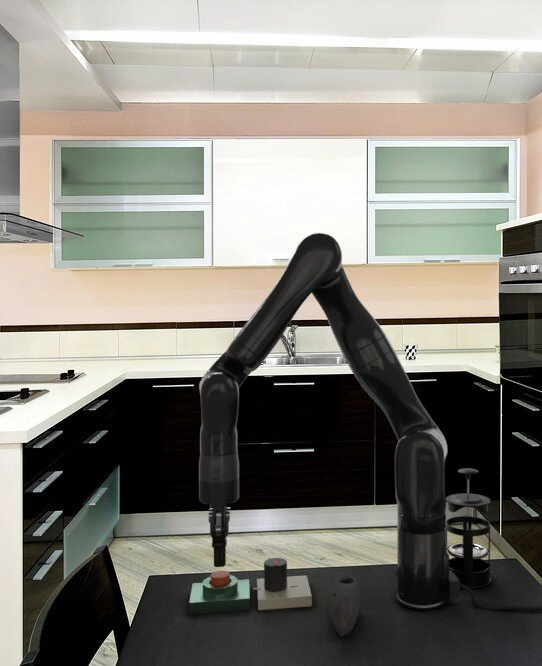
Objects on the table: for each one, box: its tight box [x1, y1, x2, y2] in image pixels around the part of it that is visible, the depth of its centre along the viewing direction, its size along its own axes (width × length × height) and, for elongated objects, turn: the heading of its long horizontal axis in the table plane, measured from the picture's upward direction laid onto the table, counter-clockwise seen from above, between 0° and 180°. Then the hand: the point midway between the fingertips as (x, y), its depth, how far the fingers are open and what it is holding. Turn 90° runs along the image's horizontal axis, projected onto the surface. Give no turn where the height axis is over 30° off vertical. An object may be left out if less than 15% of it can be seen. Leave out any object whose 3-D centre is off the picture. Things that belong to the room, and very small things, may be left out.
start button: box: [210, 570, 231, 586], centre depth 129 cm, size 4×4×2 cm
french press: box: [445, 467, 492, 591], centre depth 139 cm, size 12×9×23 cm
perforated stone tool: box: [330, 570, 361, 637], centre depth 120 cm, size 15×5×7 cm, turn 175°
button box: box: [188, 574, 251, 615], centre depth 129 cm, size 11×9×4 cm
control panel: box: [252, 574, 313, 611], centre depth 131 cm, size 11×10×2 cm
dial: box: [263, 557, 288, 592], centre depth 131 cm, size 4×4×5 cm
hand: (219, 565), depth 129 cm, fingers closed
